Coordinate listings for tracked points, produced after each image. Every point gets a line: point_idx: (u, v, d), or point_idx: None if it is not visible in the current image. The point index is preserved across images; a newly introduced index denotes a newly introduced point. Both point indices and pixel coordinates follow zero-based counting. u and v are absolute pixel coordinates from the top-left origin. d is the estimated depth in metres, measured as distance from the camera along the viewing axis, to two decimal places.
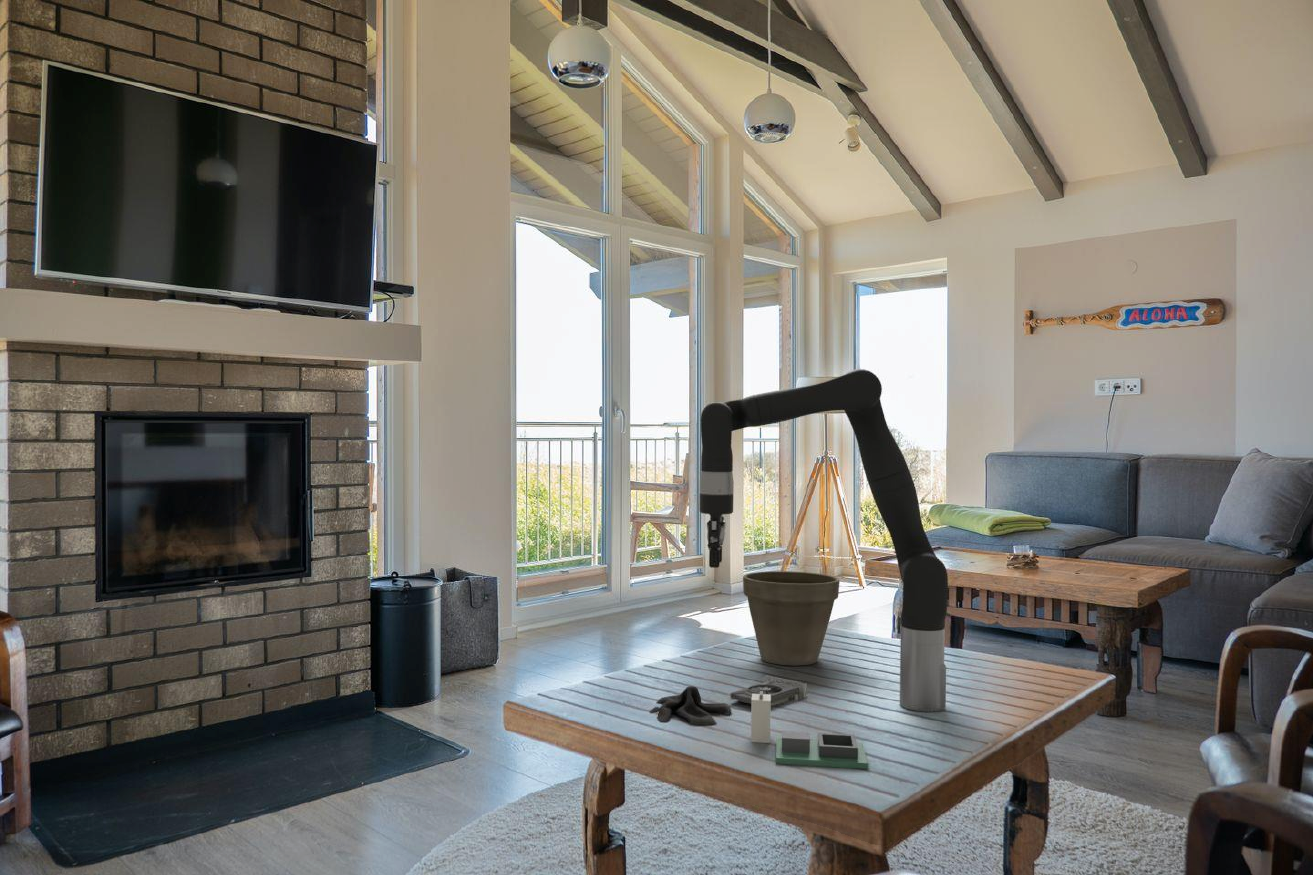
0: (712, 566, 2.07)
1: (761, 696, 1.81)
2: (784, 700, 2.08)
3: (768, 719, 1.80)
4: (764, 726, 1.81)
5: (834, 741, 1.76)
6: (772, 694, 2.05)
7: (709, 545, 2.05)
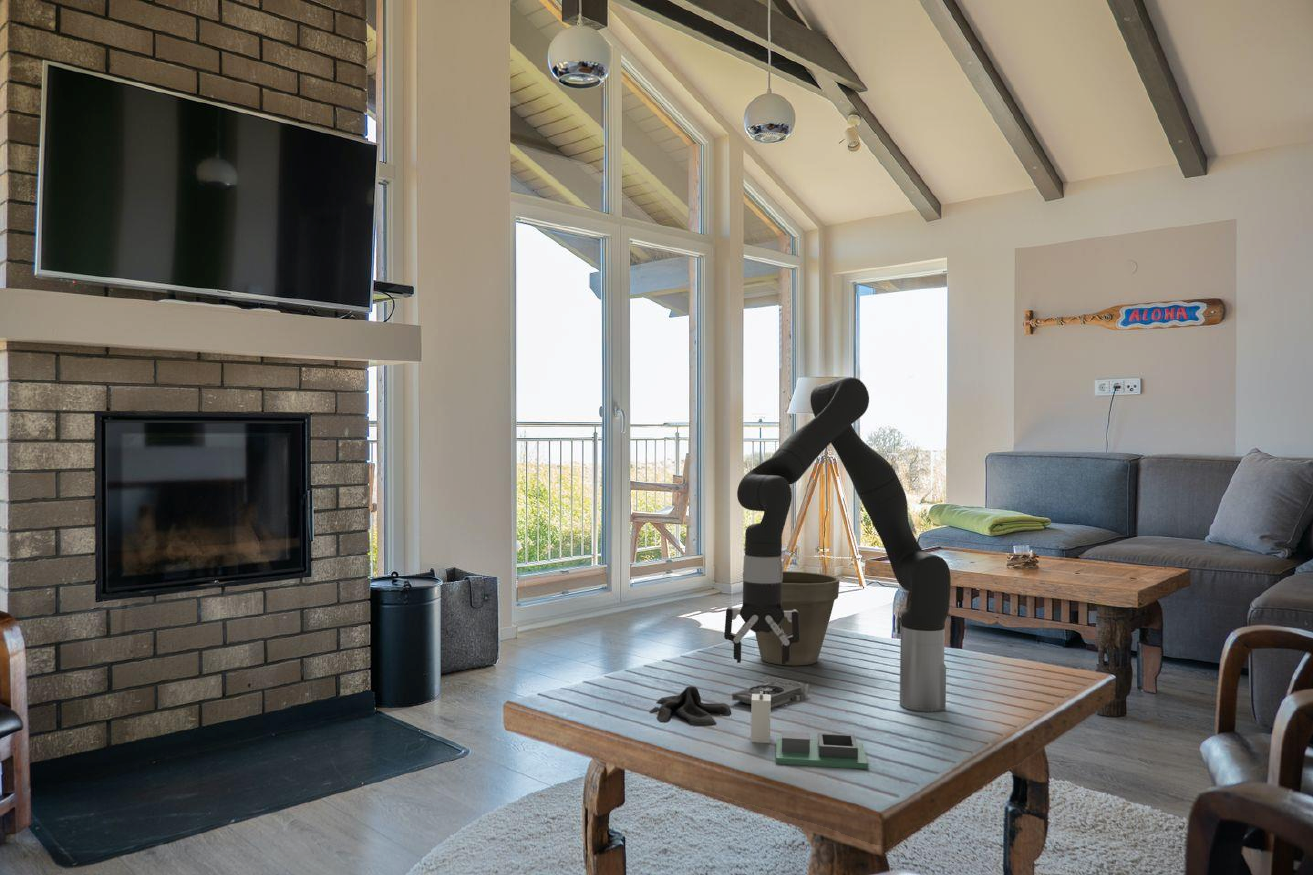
0: None
1: (761, 696, 1.81)
2: (786, 701, 2.08)
3: (768, 719, 1.80)
4: (764, 726, 1.81)
5: (834, 741, 1.76)
6: (774, 695, 2.05)
7: None
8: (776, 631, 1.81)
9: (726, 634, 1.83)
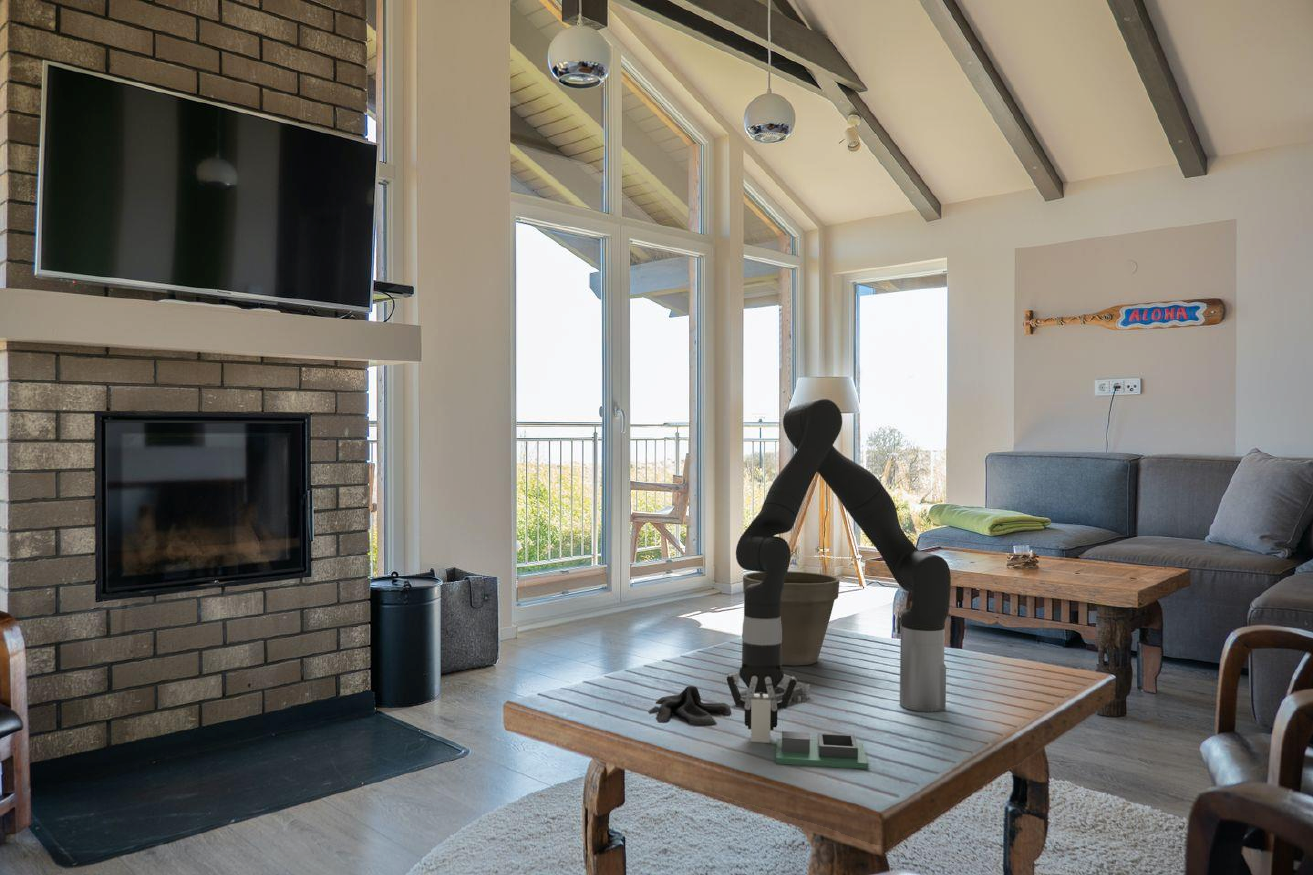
0: (773, 728, 1.82)
1: (761, 696, 1.81)
2: None
3: (768, 719, 1.81)
4: (764, 726, 1.81)
5: (834, 741, 1.76)
6: None
7: (786, 706, 1.81)
8: (769, 694, 1.81)
9: (737, 700, 1.82)
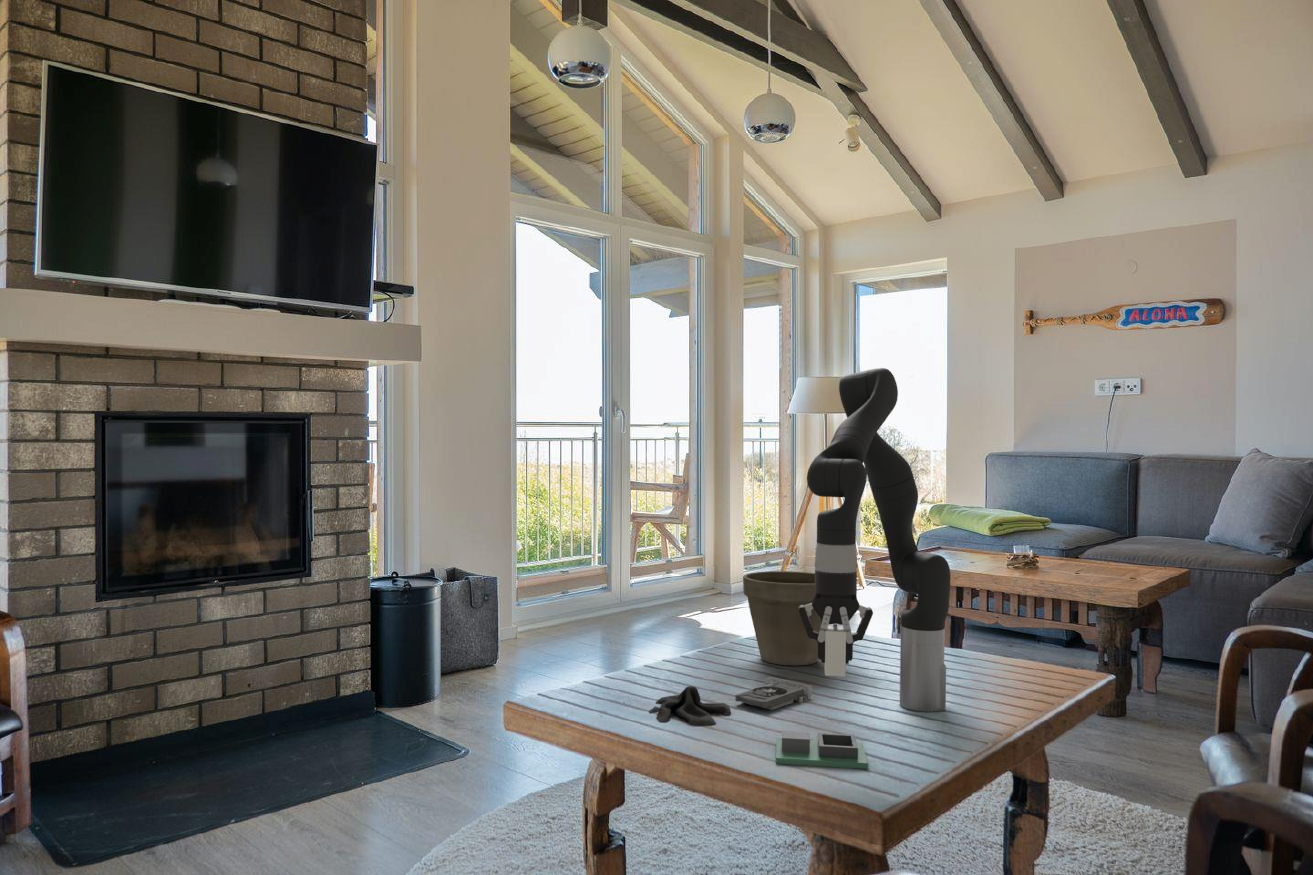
0: (848, 662, 1.73)
1: (836, 627, 1.72)
2: (789, 702, 2.07)
3: (843, 651, 1.71)
4: (839, 659, 1.71)
5: (834, 741, 1.76)
6: (777, 696, 2.04)
7: (862, 638, 1.72)
8: (845, 625, 1.72)
9: (810, 633, 1.73)
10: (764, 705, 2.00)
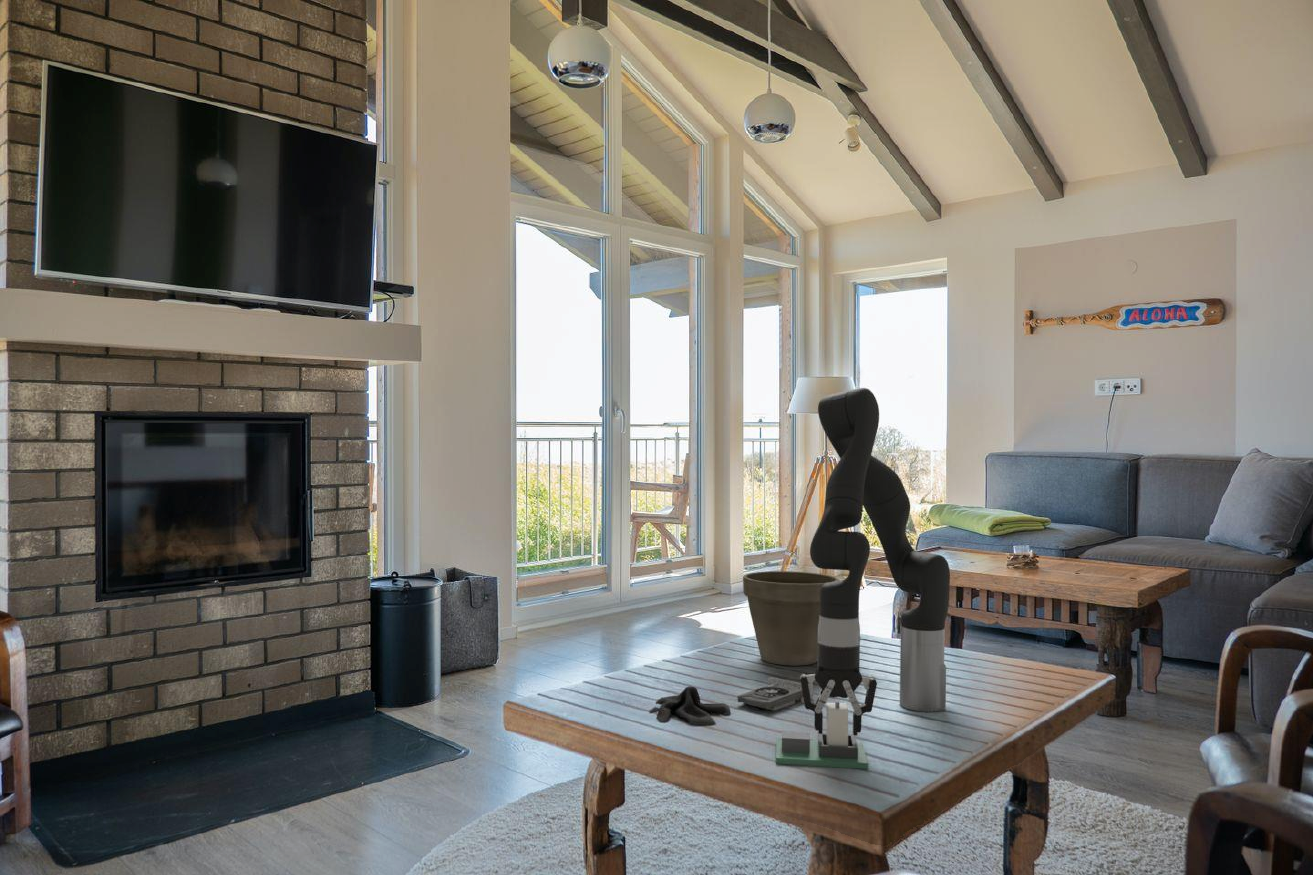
0: None
1: (838, 705, 1.72)
2: (791, 702, 2.07)
3: (846, 729, 1.71)
4: (842, 737, 1.71)
5: None
6: (780, 697, 2.03)
7: (871, 709, 1.71)
8: (851, 698, 1.71)
9: (807, 704, 1.73)
10: (767, 706, 1.99)
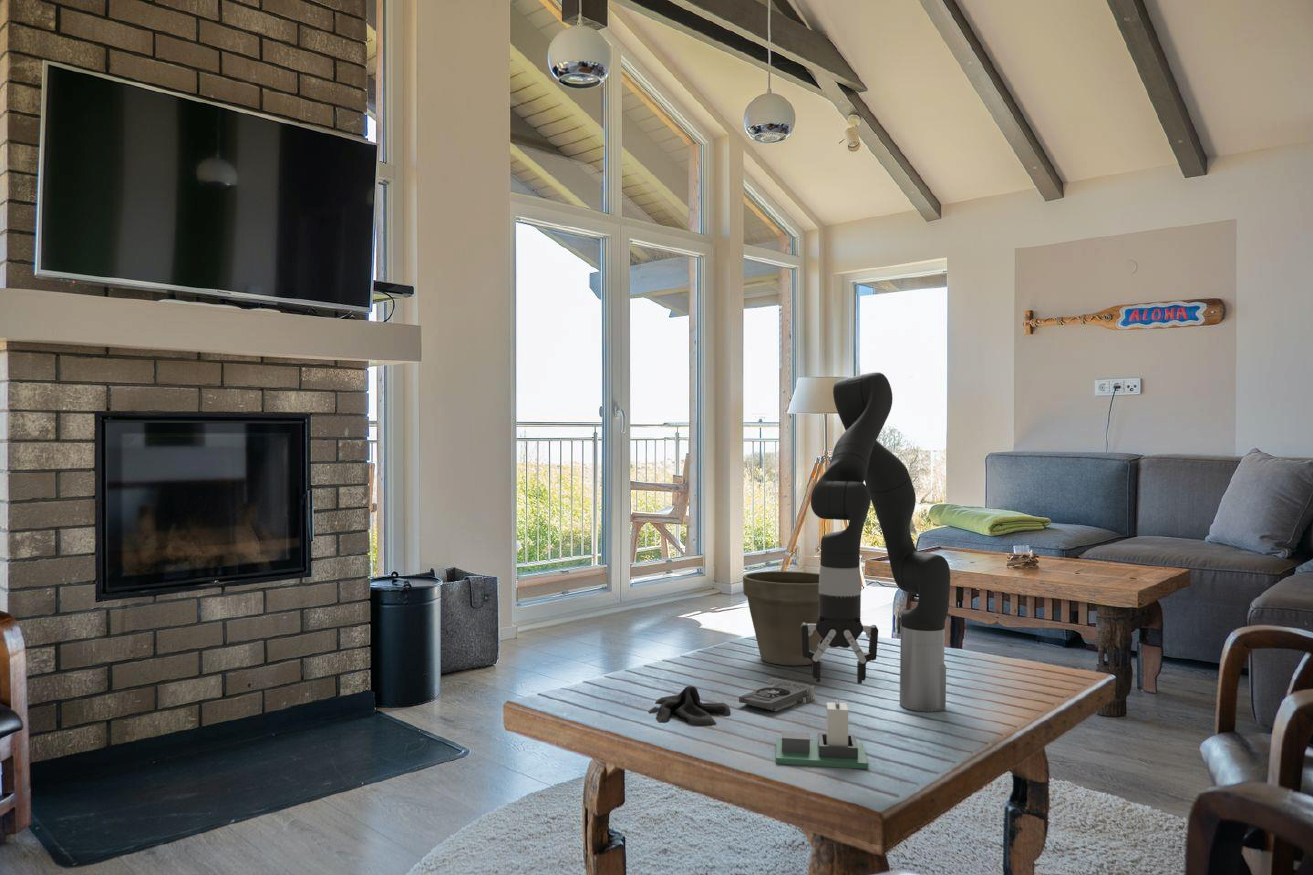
0: (861, 682, 1.72)
1: (838, 705, 1.72)
2: (792, 703, 2.06)
3: (846, 729, 1.71)
4: (842, 737, 1.71)
5: None
6: (781, 697, 2.03)
7: (876, 656, 1.71)
8: (853, 647, 1.71)
9: (805, 652, 1.73)
10: (768, 706, 1.99)
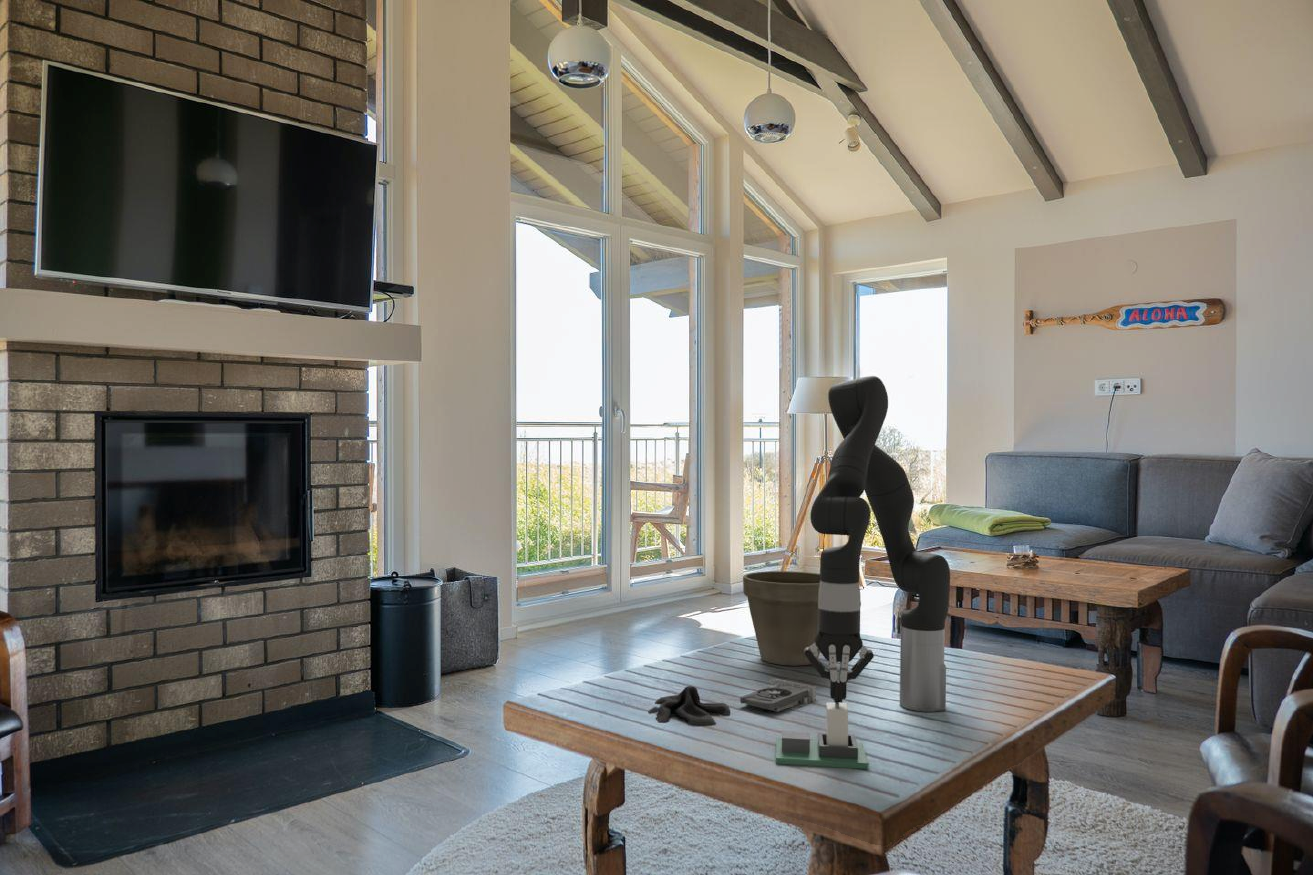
0: None
1: (837, 705, 1.72)
2: (794, 703, 2.06)
3: (845, 729, 1.71)
4: (842, 737, 1.71)
5: None
6: (783, 698, 2.02)
7: None
8: (843, 663, 1.71)
9: (823, 672, 1.72)
10: (770, 707, 1.99)
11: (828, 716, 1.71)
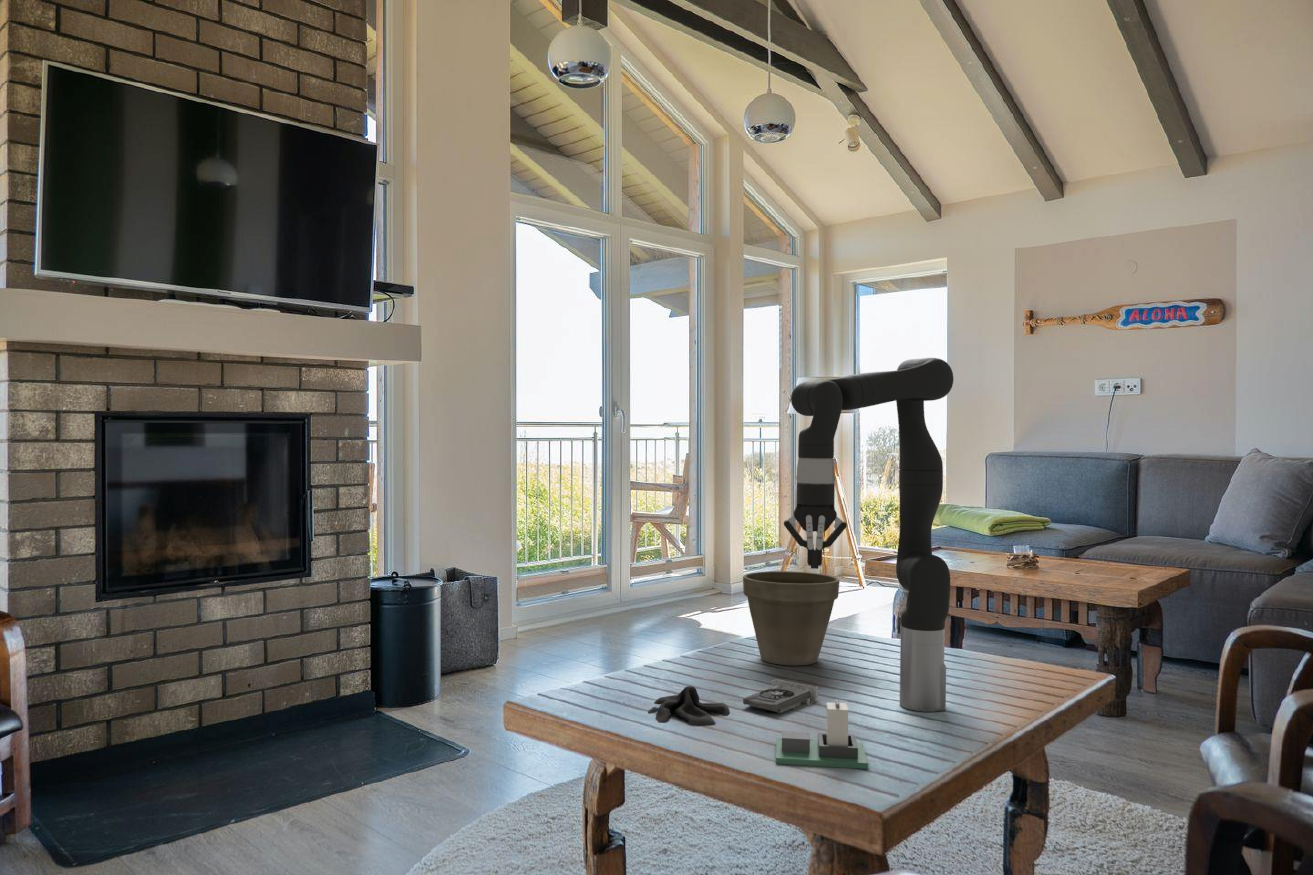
0: None
1: (838, 705, 1.72)
2: (797, 704, 2.05)
3: (846, 729, 1.71)
4: (842, 737, 1.71)
5: None
6: (786, 699, 2.02)
7: (830, 545, 1.88)
8: (819, 532, 1.88)
9: (800, 541, 1.88)
10: (773, 708, 1.98)
11: (828, 716, 1.71)
